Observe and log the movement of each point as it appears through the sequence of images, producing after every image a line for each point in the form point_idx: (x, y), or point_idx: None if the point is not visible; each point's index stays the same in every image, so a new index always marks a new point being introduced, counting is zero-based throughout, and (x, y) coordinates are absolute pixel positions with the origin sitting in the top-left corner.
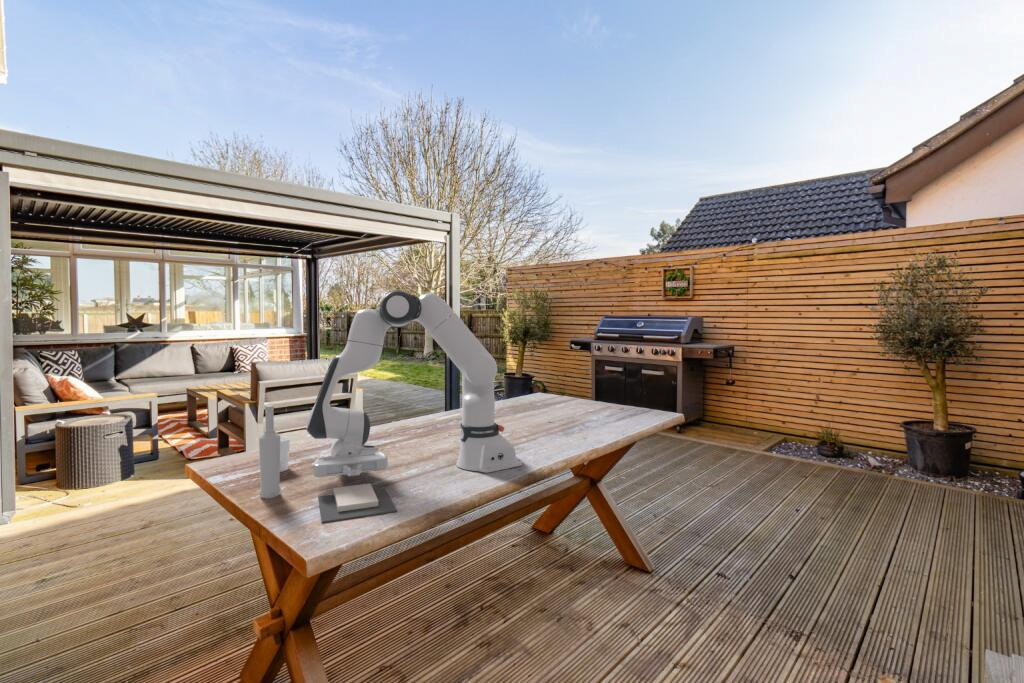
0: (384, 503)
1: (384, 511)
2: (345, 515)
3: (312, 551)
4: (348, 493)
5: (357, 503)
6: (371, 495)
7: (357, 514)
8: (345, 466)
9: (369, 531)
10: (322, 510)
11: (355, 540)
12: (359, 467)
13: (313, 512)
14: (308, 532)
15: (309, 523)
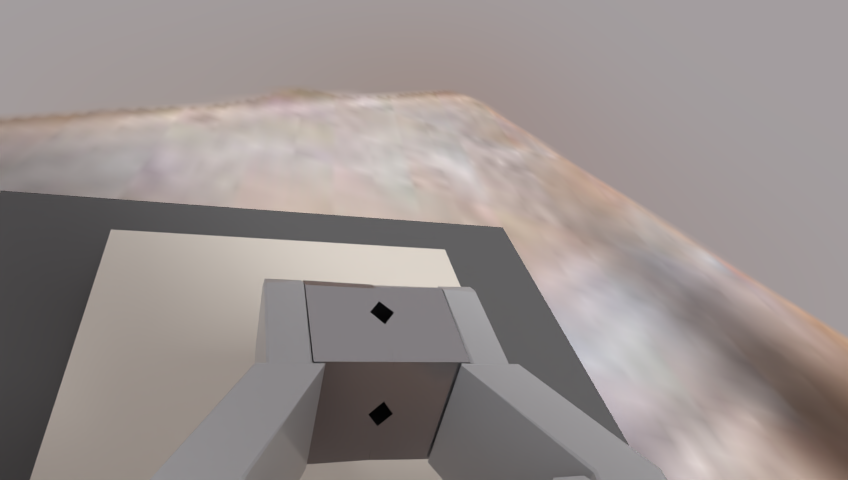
0: (27, 304)
1: (101, 206)
2: (377, 241)
3: (467, 112)
4: (387, 462)
5: (298, 242)
6: (129, 336)
7: (299, 228)
8: (603, 454)
9: (253, 123)
10: (555, 343)
11: (321, 105)
12: (245, 381)
13: (614, 367)
14: (532, 195)
15: (567, 255)
